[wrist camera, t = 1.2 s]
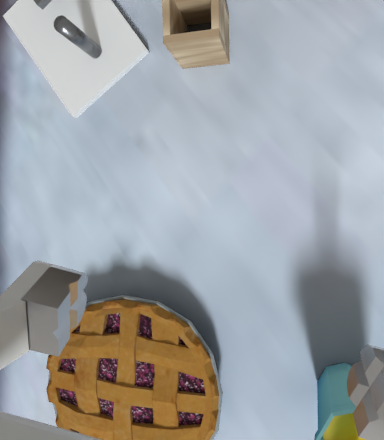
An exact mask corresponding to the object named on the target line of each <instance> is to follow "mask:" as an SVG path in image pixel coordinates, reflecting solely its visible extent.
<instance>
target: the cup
mask: <svg viewBox="0 0 384 440" xmlns="http://www.w3.org/2000/svg"><path fill="white" fill-rule="evenodd" d="M351 367H352V366H351V365H349V364H347V363H341V364H336V365H331V366H327V367H326V368H325V370H324V371H323V373H322V375H321V377H320V378H319V380H318V382H317V388H318V430H317V432H316V434H315V440H366V439H363V438H359V437H358V433H357V429H356V425H355V421H354V417H353V412H354V410H355V409H356V406H355V405H354V404H353V402H352V401H351V400H350V399H349V395H348V391H347V379H348V373H349V371H350V369H351Z"/></svg>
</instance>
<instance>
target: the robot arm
mask: <svg viewBox="0 0 384 440" xmlns="http://www.w3.org/2000/svg"><path fill="white" fill-rule="evenodd" d="M86 285H87V275H86V274H85V273H83V272H79V271H75V270H72V269H68V268H65V267H61V266H57V265H52V264H49V263H45V262H42V261H35V262H33V263H32V264H31V265H30V266H29V267H28V268H27V269H26V270H25V271H24V272H23V273H22V274H21V275H20V276H19V277H18V278H17V279H16V280H15V281H14V282H13V283H12V285H11V286H10V287H9V288H8V289H7V290H6V291H5V292H4V293H3V294H2V295H0V369H2V368H4V367H5V366H7V365H8V364H10V363H12V362H13V361H15V360H16V359H18V358H19V357H21V356H23V355H24V354H26V353H27V352H29V350H32V351H37V352H41V353H45V354H49V355H54V356H58V357H59V355H60V354H61V352H62V350H63V349H64V347H65V345H66V344H67V342H68V341H69V339H70V330H72V329H74V328H75V327H77V326H78V324H79V322H80V321H81V319H82V316H83V314H84V311H85V307H86V302H87V295H86V294H85V292H84V291H83V290H84V289H85V287H86ZM359 354H360V357H361V361H359V362H357V363H354V364H353V365H352V367H351V369H350V371H349V373H348V379H347V391H348V395H349V399H350V400H351V401H352V402H353V404H354V405H355V406H356V409H355V410H354V412H353V417H354V421H355V425H356V429H357V433H358V437H359V438H363V439H366V440H384V348H380V347H376V346H372V345H368V344H367V345H366V346H365V347H363V349H362V350H361V352H360V353H359ZM0 440H101V439H98V438H94V437H91V436H87V435H84V434H80V433H77V432H73V431H69V430H66V429H62V428H59V427H55V426H52V425H48V424H45V423H41V422H37V421H34V420H30V419H27V418H23V417H20V416H16V415H13V414H9V413H5V412H2V411H0Z"/></svg>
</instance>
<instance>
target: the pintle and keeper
mask: <svg viewBox="0 0 384 440" xmlns="http://www.w3.org/2000/svg"><path fill="white" fill-rule="evenodd" d="M51 1H52V0H34V2H35V3H36V4H37V6H39V7H40V8H41V9H42V10H43V9H44V8H45V7H46V6H47V5H48V4H49V3H50V2H51ZM54 28H55V30H56V31H57V32H59V33H60V34H61V35H63V36H64V37H65V38H67V39H68V40H69V41H71V42H72V43H73V44H75V45H76V46H77V47H79V48H80V49H81V50H83V51H84V52H85V53H87V54H88V55H89V56H91V57H92V58H98V57H100V55H101V53H102V49H101V47H100V46H99V45H98V44H97V43H96V42H94V41H93V40H92V39H91V38H90V37H88V36H87V35H86V34H85V33H84V32H83V31H81V30H80V29H79V28H78V27H77V26H75V25H74V24H73V23H72V22H71V21H70V20H68V19H67V18H66V17H65V16H62V15H60V16H58V17H56V19H55V20H54Z"/></svg>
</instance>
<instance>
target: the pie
mask: <svg viewBox="0 0 384 440" xmlns="http://www.w3.org/2000/svg"><path fill="white" fill-rule="evenodd" d="M46 368H47V369H48V370H49V381H48V386H47V394H48V399H49V402H52V403H53V405H54V409H55V413H56V424H57V426H58V427H59V428H62V429H66V430H69V431H73V432H77V433H80V434H84V435H87V436H91V437H94V438H98V439H101V440H213V439H214V437H215V435H216V434H217V432H218V429H219V421H220V412H221V403H222V394H223V392H222V388H221V384H220V380H219V376H218V371H217V367H216V363H215V359H214V355H213V353H212V351H211V350H210V348H209V347H208V345H207V344H206V342H205V341H204V339H203V338H202V337H201V335H200V334H199V332H198V331H197V329H196V328H195V326H194V325H193V323H192V322H191V321H190V320H188V319H187V318H185V317H183V316H182V315H180V314H179V313H177V312H175V311H174V310H172V309H171V308H169V307H167V306H166V305H164V304H162V303H161V302H159V301H155V300H149V299H143V298H138V297H132V296H127V295H120V296H115V297H109V298H104V299H99V300H94V301H90V302H88V303H87V304H86V307H85V311H84V314H83V316H82V319H81V321H80V322H79V324H78V326H77V327H75V328H74V329H72V330H70V339H69V341H68V342H67V344H66V345H65V347H64V349H63V350H62V352H61V354H60V355H59V357H58V356H54V355H49V356H48V361H47V367H46Z"/></svg>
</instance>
